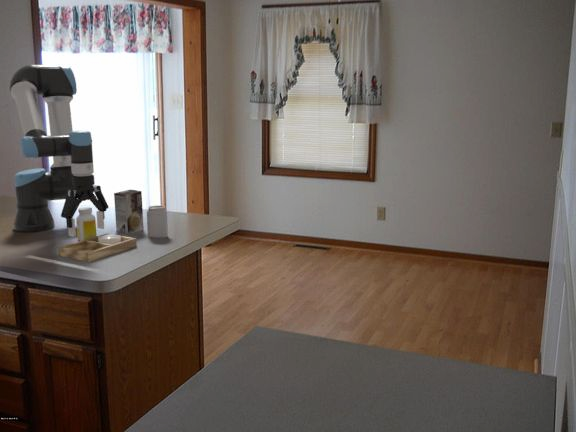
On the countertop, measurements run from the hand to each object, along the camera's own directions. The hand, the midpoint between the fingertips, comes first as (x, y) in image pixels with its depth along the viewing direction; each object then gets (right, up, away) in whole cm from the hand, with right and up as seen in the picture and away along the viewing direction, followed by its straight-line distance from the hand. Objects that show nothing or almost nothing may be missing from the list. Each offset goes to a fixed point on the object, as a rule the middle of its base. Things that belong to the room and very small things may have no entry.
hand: (87, 232), depth 219 cm
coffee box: (+11, -1, +17) cm, 21 cm away
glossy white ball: (+11, -5, -8) cm, 14 cm away
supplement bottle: (0, -4, +1) cm, 4 cm away
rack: (+8, -7, -12) cm, 16 cm away
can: (+24, -2, +10) cm, 26 cm away
